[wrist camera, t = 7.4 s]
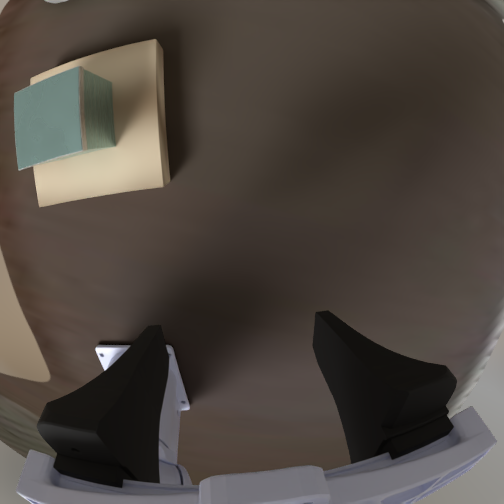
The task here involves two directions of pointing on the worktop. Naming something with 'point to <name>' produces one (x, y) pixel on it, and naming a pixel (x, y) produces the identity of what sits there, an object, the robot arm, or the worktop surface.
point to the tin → (63, 117)
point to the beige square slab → (116, 130)
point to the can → (55, 1)
